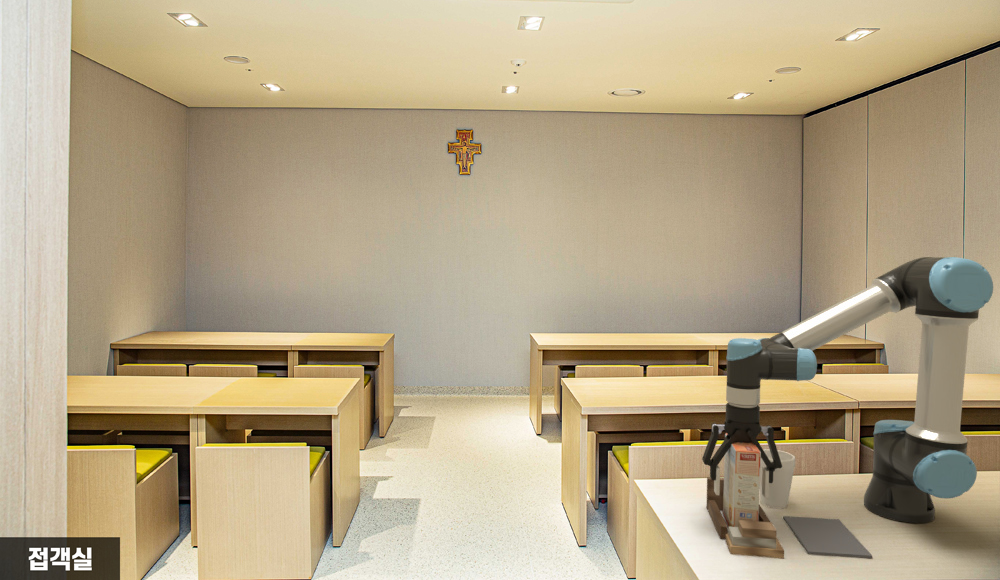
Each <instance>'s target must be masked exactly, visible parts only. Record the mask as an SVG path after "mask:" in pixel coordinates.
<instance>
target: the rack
mask: <svg viewBox="0 0 1000 580" xmlns="http://www.w3.org/2000/svg"><path fill="white" fill-rule="evenodd" d="M723 493H724V477H720V493H719V495H716V494H715V492H714V480H711V478H710V476H708V477H706V510H707V512H708V513H709V516H710V518H712V519H711V521H712V523H713V526H714V527H716V528H715V529H716V532H717V534H718V537H719V536H720V537H719V539H720V540H725V539H726V534H728V524H727V522H726V519H725V517H724V515H723V513H721V512H723ZM758 522H771V520H770V519H769V517H768V516H767V515H766V512H765V511H764V510H763V508H762V506H760V504H759V513H758Z"/></svg>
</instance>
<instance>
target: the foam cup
mask: <svg viewBox="0 0 1000 580" xmlns="http://www.w3.org/2000/svg"><path fill="white" fill-rule="evenodd" d="M762 449H763V448H762ZM763 450H764V452H765V454H766V455H767V457H768V459H769V460H770V462H773V459H772V455H771V452H770V449H769V448H767V449H763ZM777 451H778V454H779V457H780V460H781V464H782V468H777V469H775V471H774V472H773V483H769V493H768V498H765V497H764V496H763V494H762V468H763V467H766V465H765V463H764V462H763V460H762V458H761V459H760V486H759V499H760V503H761V504H762V505H763V506H765V507H768V508H771V509H778V510H779V509H782V510H783V509H786V508H787V507H788V505H789V500H790V493H791V488H792V481H793V476H794V471H795V468H796V456H795V455H794V454H792V453H790V452H787V451H784V450H778V449H777Z"/></svg>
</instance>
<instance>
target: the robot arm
mask: <svg viewBox="0 0 1000 580" xmlns="http://www.w3.org/2000/svg"><path fill="white" fill-rule="evenodd" d="M993 291H994V282H993V279H992V276H991V274H990V272H989V271H988V270H987V269H986V268H985V267H984V266H983V265H982V264H980V263H979V262H977V261H975V260H972V259H969V258H963V257H956V256H951V257H950V256H949V257H947V256H946V257H945V256H944V257H939V256H938V257H934V256H932V257H931V256H929V257H928V256H927V257H925V256H924V257H918V258H915V259H912V260H909V261H907V262H905V263H903V264H900V265H899V266H897V267H895V268H892V269H891V270H889V271H887V272H885V273H883V274H882V275H880V276H877V277H876V278H874V279H873V280H872V281H871V285H869V286H868V287H866V288H864V289H862V290H860V291H858V292H856V293H855V294H853V295H850V296H848V297H847V298H845V299H843V300H840V301H838V302H837V303H835V304H833V305H831V306H829V307H827V308H825V309H823V310H822V311H820V312H818V313H816V314H814V315H811V316H810V317H808V318H806V319H804V320H802V321H800V322H799V323H797V324H795V325H792V326H791V327H789V328H787V329H785V330H783V331H781V332H779V333H777V334H774V335H773V336H772V337H769V338H768V337H763V338H759V339H757V338H756V339H755V338H745V337H741V338H740V337H738V338H737V337H736V338H731V339H730V340H729V341H728V342H727V348H726V349H727V350H726V357H725V358H726V390H725V391H726V393H725V400H726V401H727V402H726V404H725V421H724V423H723V424H716V423H715V422H713V423H711V433H710V435H709V438H708V442H707V443H706V448H705V450H704V452H703V455H702V462H703V464H704V465H705V466H709V477H710V478H711V480H714V492H715V494H716V495H719V493H720V478H721V468H720V466H719V464H720V462H722V460H723V458H725V454H726V452H727V451H728V450H729V448H730V447H731V444H734V442H736V443H737V442H739V443H742V442H743V443H751V442H752V443H753V444H754V445H756V447H757V448H758V449H759V451H760V452H761V458H762V460H763V462H764V463H765V465H766V467H763V468H762V494H763V496H764V497H765V498H768V493H769V483H773V472H774V471H775V469H777V468H782V464H781V460H780V457H779V454H778V451H777V450H778V447H777V445H776V441H775V439H774V437H775V436H774V434H775V429H774V428H773V427H772V426H771V425H769V424H768V425H766V426H765V425H764V426H763V425H761V423H760V417H761V416H760V415H761V414H760V413H761V412H760V411H761V409H760V408H761V407H760V406H759V405H760V404H761V380H764V381H768V380H769V381H771V380H772V381H795V382H796V381H797V382H800V381H811V380H813V379H814V378H815V376H816V374H817V369H818V363H817V356H816V355H815V353H814V352H813V351H815V350H816V349H818V348H820V347H822V346H824V345H826V344H828V343H830V342H832V341H835V340H836V339H839V338H840V337H842V336H844V335H847V334H849V333H850V332H852V331H854V330H855V329H858V328H860V327H862V326H863V325H866V324H868V323H870V322H872V321H874V320H876V319H878V318H879V317H882V316H883V315H886V314H888V313H890V312H891V313H894V314H895V313H899V312H901V311H903V310H905V309H908V308H911V307H915V309H914V310H915V311H914V315H915V317H916V318H918V319H919V320H920V322H921V334H920V335H921V336H920V345H919V347H920V348H919V357H918V358H919V359H918V360H919V361H918V370H917V371H918V372H917V385H916V394H915V395H916V396H915V397H916V398H915V407H914V410H915V411H914V421H911V420H901V419H881V420H879V421H876V422H875V424H874V431H873V433H872V434H873V450H872V451H873V455H872V456H873V457H872V477H871V480H870V482H869V483H868V486H867V488H866V490H865V492H864V495H863V505H864V507H865V508H866V509H867V510H868V511H870V512H872V513H873V514H876V515H877V516H880V517H883V518H885V519H889V520H893V521H898V522H903V523H911V524H912V523H913V524H925V523H930V522H933V521H934V520H935V518H936V517H935V515H936V509H935V505H934V502H933V499H932V497H935V498H939V499H955V498H958V497H961V496H962V495H963V494H965V493H966V492H969V491H970V490H971V489H972V488H973V486H974V484H975V482H976V480H977V475H978V471H977V470H978V469H977V466H976V464H975V463H974V461H973V459H972V458H971V456H969V455H967V450H968V437H966V436H965V435H964V433H962V432H961V424H962V423H961V422H962V421H961V420H962V411H963V401H964V400H963V398H964V387H965V386H964V385H965V378H966V377H965V375H966V374H965V373H966V365H967V352H968V343H969V342H968V340H969V329H970V326H971V325H972V324H974V323H975V322H977V321H978V320H979V316H980V314H979V311H980V309H982V308H984V306H985V305H987V303H989V301H990V300H991V298H992V296H993V293H994V292H993ZM723 431H725V432H726V433H727V436H726V437H725V436H724V440H723V442H722V443H721V444H720V445H719V447H718V449H717V450H716V452H715V451H714V450H715V448H716V445H717V442H718V439H719V436H720V435H721V434H722V432H723ZM761 432H762V434H763V435H764V436H765V439H766V443H767V446H768V449H770V452H771V455H772V459H773V462H770V460H769V459H768V457H767V455H766V454H765V452H764V450H763V448H762V445H761V444H760V442H759V440H758V439H757V437H758V436H759V435H760V433H761ZM714 452H715V453H714ZM713 453H714V455H713ZM931 496H932V497H931Z"/></svg>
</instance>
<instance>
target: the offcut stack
mask: <svg viewBox="0 0 1000 580" xmlns="http://www.w3.org/2000/svg"><path fill="white" fill-rule="evenodd" d="M727 526H728V525H727ZM724 541H725V543H726V546H727V549H728V551H729V553H730V555H736V556H737V555H738V556H747V557H748V556H749V557H750V556H751V557H761V558H762V557H763V558H771V559H772V558H774V559H785V550H784V548H783V546H782V544H781V542H780V541H779V538H778V537H777V529H776V528H775V526H774V524H773V522H771V521H770V522H758V521H744V520H739V527H729V526H728V534H726V539H724Z"/></svg>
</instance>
